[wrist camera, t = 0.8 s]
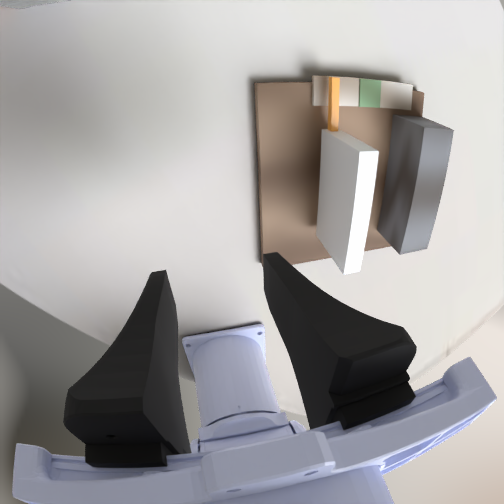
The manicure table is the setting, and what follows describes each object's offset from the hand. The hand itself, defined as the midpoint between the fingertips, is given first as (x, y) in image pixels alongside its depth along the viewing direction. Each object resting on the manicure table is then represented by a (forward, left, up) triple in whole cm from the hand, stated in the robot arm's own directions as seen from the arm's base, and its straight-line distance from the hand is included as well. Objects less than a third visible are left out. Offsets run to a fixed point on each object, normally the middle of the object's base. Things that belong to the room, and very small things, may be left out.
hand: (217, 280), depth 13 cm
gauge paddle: (+2, -9, -8) cm, 12 cm away
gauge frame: (0, -10, -9) cm, 14 cm away
